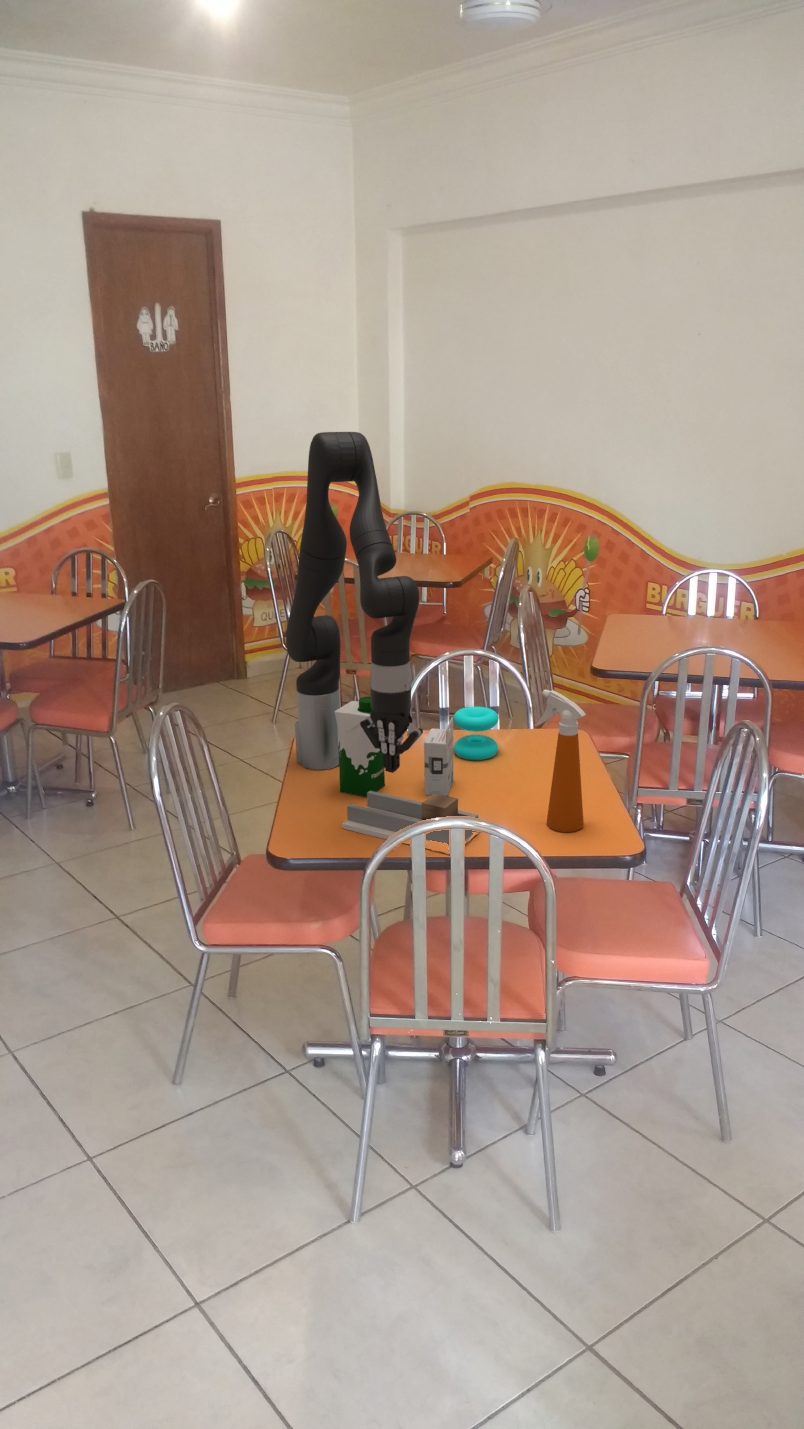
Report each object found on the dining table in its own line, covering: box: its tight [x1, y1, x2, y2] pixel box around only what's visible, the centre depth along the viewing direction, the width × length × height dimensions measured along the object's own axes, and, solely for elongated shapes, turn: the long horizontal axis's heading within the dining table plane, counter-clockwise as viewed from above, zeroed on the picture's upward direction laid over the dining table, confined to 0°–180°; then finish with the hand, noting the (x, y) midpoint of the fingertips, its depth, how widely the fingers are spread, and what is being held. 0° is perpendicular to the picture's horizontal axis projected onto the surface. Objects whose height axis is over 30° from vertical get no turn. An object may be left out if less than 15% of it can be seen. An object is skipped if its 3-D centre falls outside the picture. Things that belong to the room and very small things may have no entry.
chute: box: [341, 791, 480, 851], centre depth 198 cm, size 24×12×4 cm, turn 59°
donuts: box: [453, 706, 499, 761], centre depth 233 cm, size 10×10×10 cm
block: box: [421, 793, 459, 820], centre depth 194 cm, size 5×5×6 cm
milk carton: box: [335, 696, 386, 798], centre depth 214 cm, size 9×9×20 cm
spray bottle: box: [533, 689, 586, 833], centre depth 196 cm, size 7×11×26 cm, turn 50°
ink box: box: [423, 716, 454, 796], centre depth 215 cm, size 9×5×15 cm, turn 168°
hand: (391, 770), depth 197 cm, fingers closed
